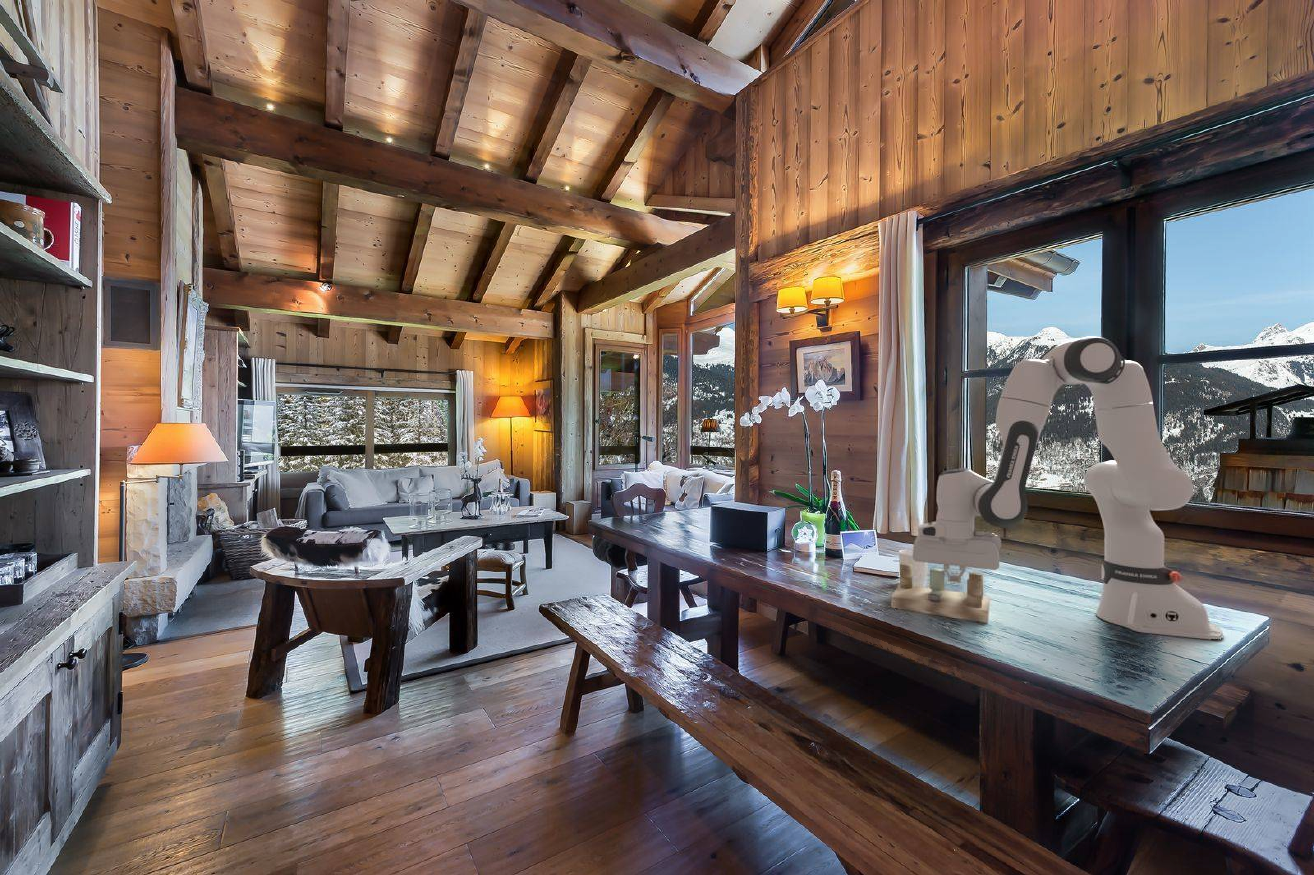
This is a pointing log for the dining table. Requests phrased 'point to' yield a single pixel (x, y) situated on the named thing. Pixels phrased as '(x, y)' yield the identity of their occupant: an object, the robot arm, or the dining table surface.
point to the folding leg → (936, 583)
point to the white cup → (914, 568)
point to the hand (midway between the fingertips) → (954, 582)
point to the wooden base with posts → (942, 598)
